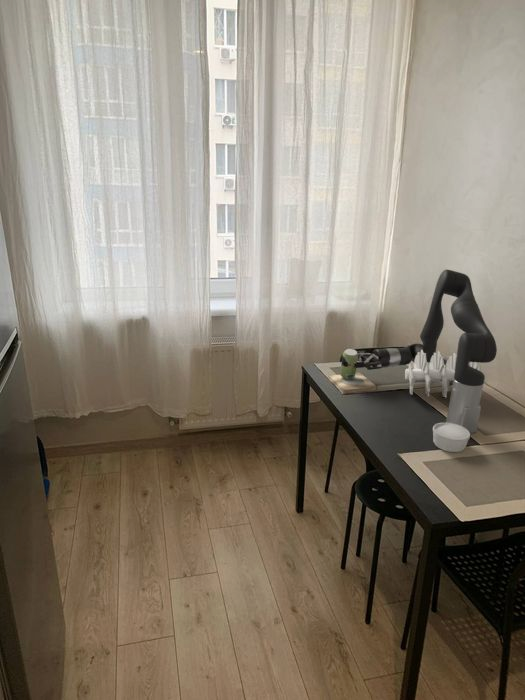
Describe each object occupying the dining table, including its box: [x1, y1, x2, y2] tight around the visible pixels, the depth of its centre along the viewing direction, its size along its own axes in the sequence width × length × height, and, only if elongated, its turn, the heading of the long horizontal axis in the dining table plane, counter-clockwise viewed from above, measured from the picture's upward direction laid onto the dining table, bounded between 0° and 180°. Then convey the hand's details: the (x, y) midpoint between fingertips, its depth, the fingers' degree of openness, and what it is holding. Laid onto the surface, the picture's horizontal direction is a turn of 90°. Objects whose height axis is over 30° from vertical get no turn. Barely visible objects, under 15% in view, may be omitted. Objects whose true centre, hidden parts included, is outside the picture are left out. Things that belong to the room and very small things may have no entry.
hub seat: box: [328, 372, 377, 394], centre depth 203 cm, size 14×14×2 cm
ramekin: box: [432, 422, 471, 453], centre depth 161 cm, size 11×11×5 cm
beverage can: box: [339, 348, 358, 379], centre depth 202 cm, size 6×7×12 cm
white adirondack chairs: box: [404, 350, 481, 398], centre depth 193 cm, size 18×18×25 cm
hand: (349, 361), depth 199 cm, fingers open, 8 cm apart
